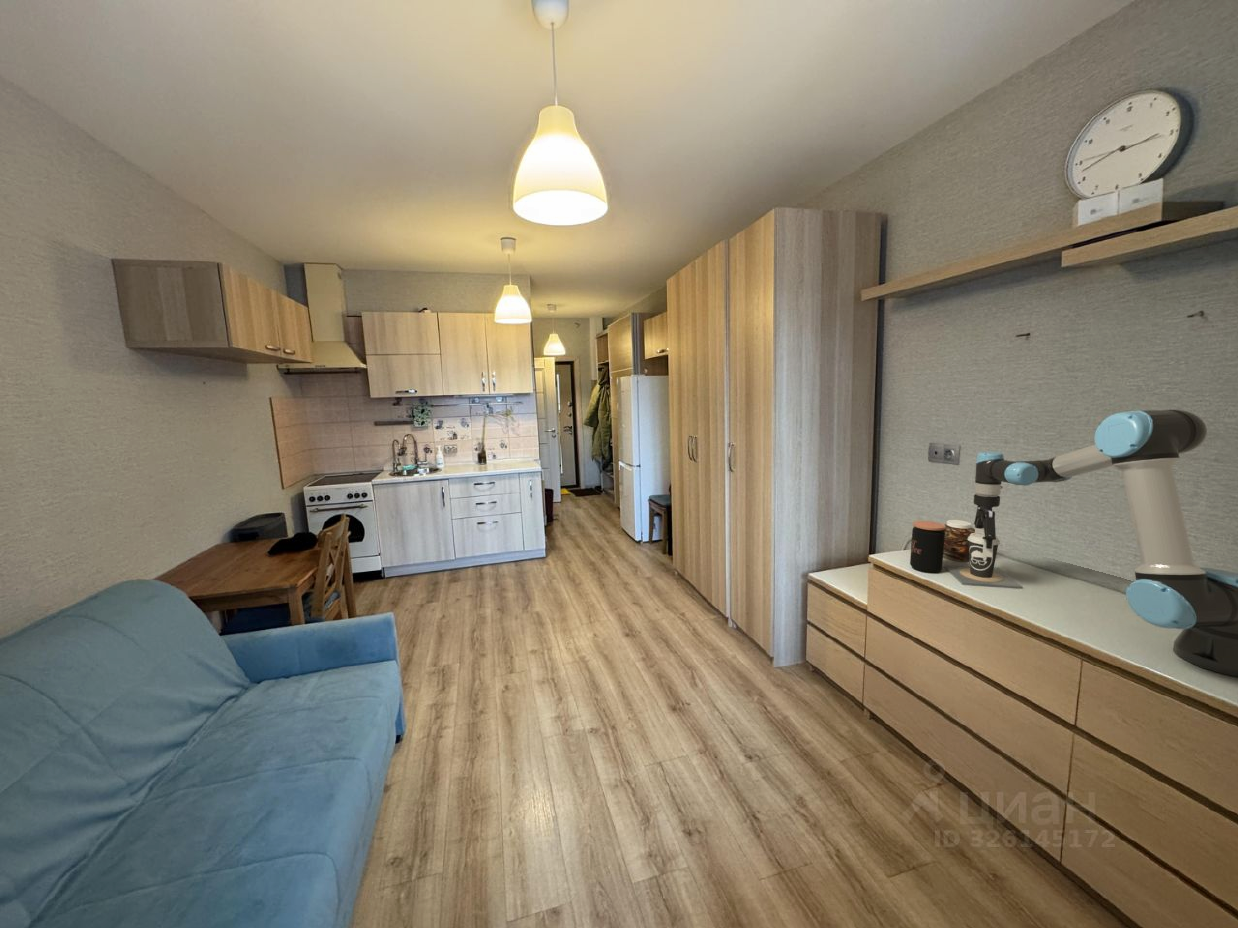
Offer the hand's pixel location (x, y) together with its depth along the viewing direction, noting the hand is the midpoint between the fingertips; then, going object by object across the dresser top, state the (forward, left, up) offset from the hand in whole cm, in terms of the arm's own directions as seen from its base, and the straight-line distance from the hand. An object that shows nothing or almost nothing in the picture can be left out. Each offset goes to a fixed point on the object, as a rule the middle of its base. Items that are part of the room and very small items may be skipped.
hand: (982, 550), depth 173 cm
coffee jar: (+3, +17, -10) cm, 20 cm away
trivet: (0, 0, -10) cm, 10 cm away
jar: (+22, +4, -10) cm, 25 cm away
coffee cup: (0, 0, -9) cm, 9 cm away
